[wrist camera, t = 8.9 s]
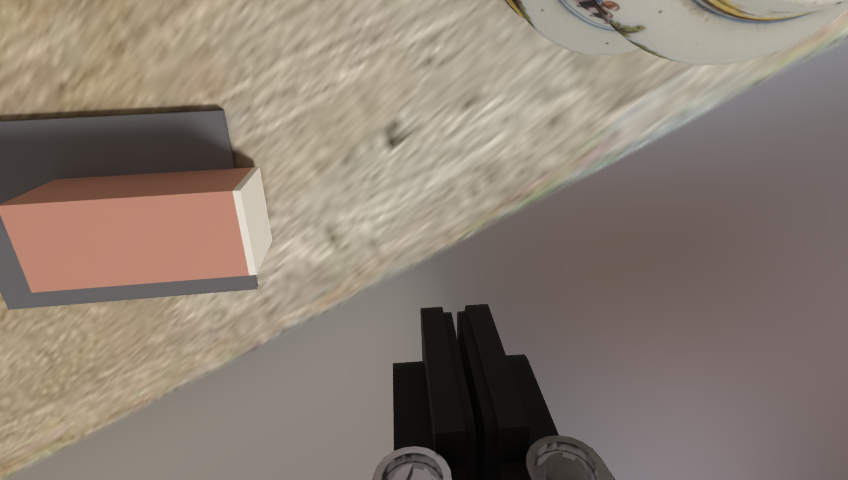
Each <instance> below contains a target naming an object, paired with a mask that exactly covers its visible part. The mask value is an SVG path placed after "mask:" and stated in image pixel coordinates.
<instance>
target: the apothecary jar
mask: <svg viewBox="0 0 848 480" xmlns="http://www.w3.org/2000/svg"><path fill="white" fill-rule="evenodd" d="M507 2H508V3H509V4H510V6H511V7H512V8H513V9H514V10H515V11H516V12H517V13H518V14H519V15H520V16H521V17H522V18H525V19H526V20H527V21H528V22H529V23H530V24H531V25H532V26H533V27H534V28H535V29H536V30H537V31H538V32H539V33H540V34H541V35H543V36H544V37H545V38H547V39H548V40H550V41H551V42H553V43H555V44H557V45H559V46H561V47H563V48H565V49H568V50H571V51H574V52H577V53H581V54H588V55H599V56H606V55H617V54H623V53H628V52H632V51H635V50H639V49H643V50H645V51H647V52H649V53H651V54H654V55H656V56H659V57H661V58H665V59H668V60H672V61H676V62H681V63H686V64H695V65H724V64H733V63H739V62H744V61H748V60H752V59H756V58H759V57H763V56H766V55H769V54H772V53H774V52H777V51H779V50H782V49H784V48H786V47H788V46H791V45H793V44H795V43H797V42H799V41H800V40H802V39H804V38H806V37H808V36H810V35H811V34H813V33H815V32H816V31H818V30H819V29H821V28H822V27H824V26H825V25H827V24H828V23H830V22H831V21H833V20H834V19H835V18H837V17H838V16H839V15H841V14H842V13H843V12H845V11H846V10H847V9H848V0H507Z"/></svg>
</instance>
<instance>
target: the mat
mask: <svg viewBox="0 0 848 480" xmlns="http://www.w3.org/2000/svg"><path fill="white" fill-rule="evenodd" d="M234 168H235V164H234V159H233V154H232V149H231V144H230V138H229V133H228V128H227V123H226V118H225V113H224V110H207V111H187V112H167V113H147V114H127V115H107V116H88V117H68V118H48V119H28V120H8V121H0V204H2V203H5V202H7V201H9V200H11V199H13V198H15V197H18V196H20V195H22V194H24V193H26V192H29V191H31V190H33V189H35V188H37V187H40V186H42V185H44V184H46V183H48V182H51V181H53V180H55V179H69V178H86V177H102V176H119V175H135V174H152V173H168V172H185V171H201V170H218V169H234ZM257 287H258V283H257V278H256V275H248V276H235V277H223V278H210V279H197V280H185V281H172V282H160V283H147V284H135V285H122V286H109V287H97V288H84V289H72V290H59V291H47V292H34V293H32V292H31V290H30V287H29V285H28V282H27V280H26V277H25V275H24V272H23V270H22V267H21V265H20V262H19V260H18V257H17V255H16V253H15V250H14V248H13V245H12V243H11V240H10V238H9V235H8V233H7V230H6V228H5V225H4V223H3V220H2V218H1V216H0V291H1V293H2V296H3V298H4V300H5V302H6V305H7V307H8V309H21V308H34V307H46V306H58V305H70V304H82V303H94V302H106V301H119V300H131V299H143V298H155V297H167V296H179V295H191V294H203V293H216V292H228V291H240V290H252V289H257Z"/></svg>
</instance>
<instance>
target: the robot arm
mask: <svg viewBox="0 0 848 480" xmlns="http://www.w3.org/2000/svg"><path fill="white" fill-rule="evenodd" d="M421 334H422V355H423V356H422V357H423V361H420V362H406V363H393V403H394V405H393V406H394V408H393V409H394V451H393V452H392V453H390V454H389V455H387V456H386V457H384V458H383V460H382V461H381V462H380V463H379V465H378V466H377V468H376V470H375V473H374V476H373V480H615V478H614V477H613V476H612V474H611V472H610V471H609V470H608V468H607V466H606V465H605V463H604V462H603V461H602V459H601V458H600V457H599V456H598V454H597V453H596V452H595V451H594V450H593V449H592V448H591V447H589V446H588V445H586V444H585V443H583V442H581V441H579V440H576V439H574V438H571V437H566V436H560V435H559V434H558V432H557V430H556V427H555V425H554V423H553V420H552V417H551V415H550V412H549V410H548V408H547V405H546V403H545V400H544V398H543V395H542V393H541V391H540V388H539V386H538V383H537V381H536V379H535V376H534V373H533V371H532V369H531V366H530V364H529V361H528V359H527V357H526V356H525V355H524V354H522V355H507V356H506V355H505V352H504V349H503V346H502V343H501V340H500V337H499V335H498V332H497V329H496V326H495V323H494V320H493V317H492V315H491V312H490V309H489V306H488V304H480V305H466V306H465V311H462V312H458V313H457V337H456V332H455V327H454V323H453V318H452V313H451V312H445V313H443V308H442V307H433V308H421Z"/></svg>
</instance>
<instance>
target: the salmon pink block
mask: <svg viewBox="0 0 848 480" xmlns="http://www.w3.org/2000/svg"><path fill="white" fill-rule="evenodd" d="M0 216H1V218H2V220H3V223H4V225H5V228H6V230H7V233H8V235H9V238H10V240H11V243H12V245H13V248H14V250H15V253H16V255H17V257H18V260H19V262H20V265H21V267H22V270H23V272H24V275H25V277H26V280H27V282H28V285H29V287H30V290H31V292H32V293H34V292H47V291H59V290H72V289H84V288H97V287H109V286H122V285H135V284H147V283H160V282H172V281H185V280H197V279H210V278H223V277H235V276H248V275H257V273H258V270H259V268H260V266H261V264H262V262H263V260H264V257H265V255H266V253H267V251H268V249H269V247H270V244H271V242H272V236H271V231H270V225H269V219H268V213H267V208H266V202H265V196H264V190H263V184H262V179H261V173H260V167H251V168H234V169H218V170H201V171H185V172H168V173H152V174H135V175H119V176H102V177H86V178H69V179H55V180H53V181H51V182H48V183H46V184H44V185H42V186H40V187H37V188H35V189H33V190H31V191H29V192H26V193H24V194H22V195H20V196H18V197H15V198H13V199H11V200H9V201H7V202H5V203H2V204H0Z"/></svg>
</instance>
